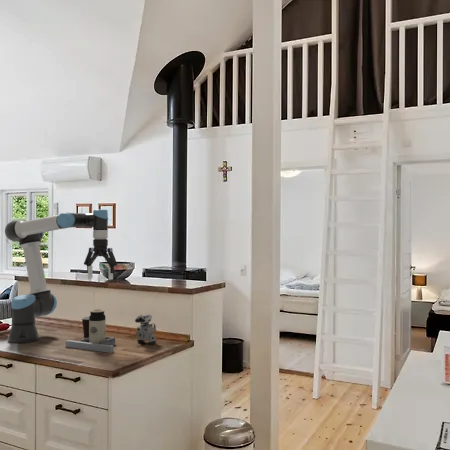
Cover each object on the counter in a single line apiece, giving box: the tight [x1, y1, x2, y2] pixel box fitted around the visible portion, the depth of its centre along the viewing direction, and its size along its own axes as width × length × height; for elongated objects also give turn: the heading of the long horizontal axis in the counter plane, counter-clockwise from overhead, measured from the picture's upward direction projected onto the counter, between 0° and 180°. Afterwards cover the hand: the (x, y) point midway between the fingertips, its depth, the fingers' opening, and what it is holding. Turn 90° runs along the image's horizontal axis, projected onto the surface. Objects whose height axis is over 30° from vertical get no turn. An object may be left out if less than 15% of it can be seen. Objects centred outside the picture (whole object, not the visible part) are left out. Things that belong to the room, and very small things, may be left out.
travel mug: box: [88, 308, 106, 344], centre depth 253 cm, size 8×8×18 cm
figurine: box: [134, 314, 157, 346], centre depth 257 cm, size 9×12×15 cm
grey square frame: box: [80, 335, 116, 346], centre depth 252 cm, size 12×12×4 cm
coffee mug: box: [81, 316, 90, 338], centre depth 276 cm, size 12×9×10 cm
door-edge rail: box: [65, 339, 114, 354], centre depth 245 cm, size 28×2×3 cm, turn 65°
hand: (100, 278), depth 264 cm, fingers open, 13 cm apart
